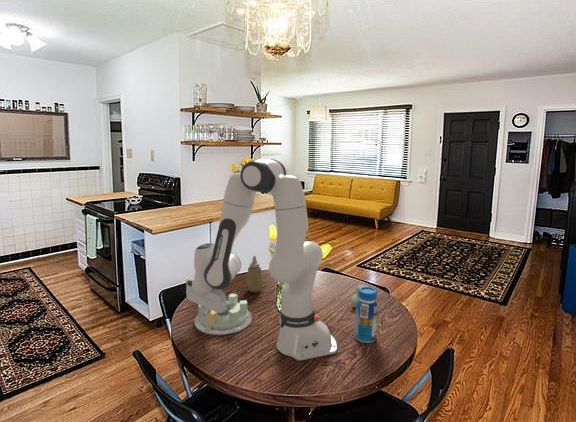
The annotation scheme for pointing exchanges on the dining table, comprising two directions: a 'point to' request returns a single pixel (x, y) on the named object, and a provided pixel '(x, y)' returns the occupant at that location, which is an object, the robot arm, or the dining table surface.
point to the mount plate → (226, 331)
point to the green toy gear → (226, 315)
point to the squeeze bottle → (254, 276)
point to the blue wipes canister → (366, 315)
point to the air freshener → (356, 296)
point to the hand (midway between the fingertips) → (206, 315)
